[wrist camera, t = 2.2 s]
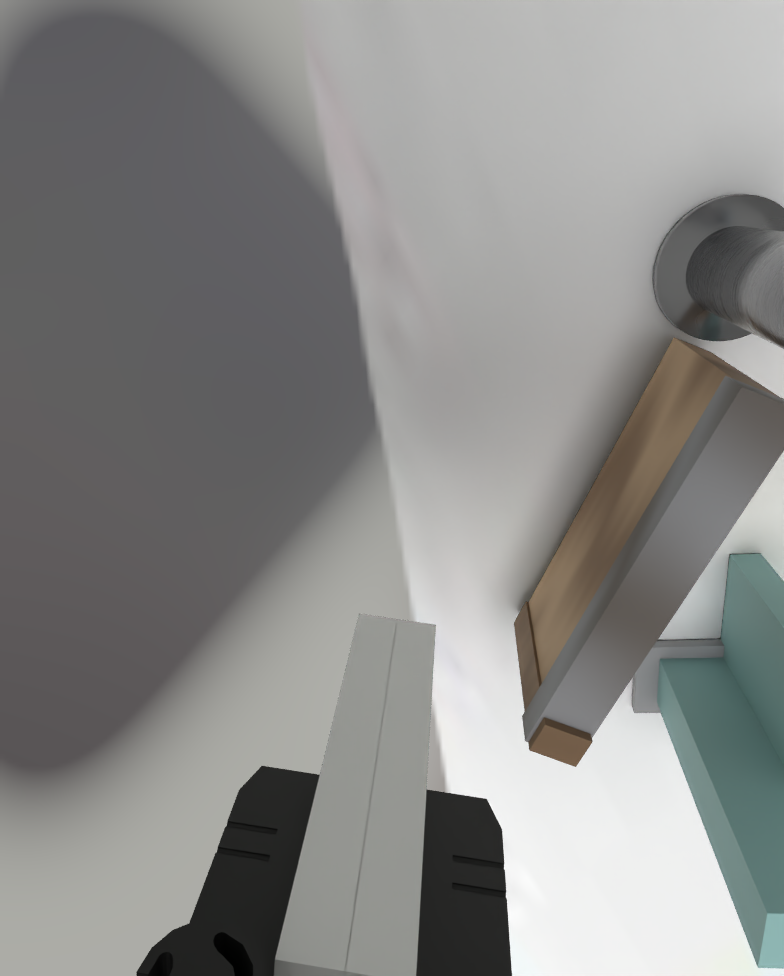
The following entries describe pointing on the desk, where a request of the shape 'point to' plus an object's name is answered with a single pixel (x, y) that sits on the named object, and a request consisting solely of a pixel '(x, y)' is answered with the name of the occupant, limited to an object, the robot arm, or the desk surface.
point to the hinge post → (725, 270)
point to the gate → (641, 541)
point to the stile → (733, 741)
